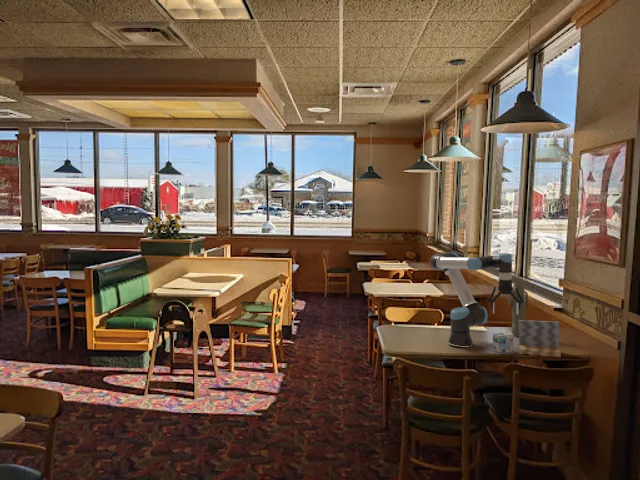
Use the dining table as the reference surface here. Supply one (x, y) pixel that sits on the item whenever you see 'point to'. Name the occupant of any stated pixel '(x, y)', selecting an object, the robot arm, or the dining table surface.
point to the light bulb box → (503, 342)
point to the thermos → (520, 311)
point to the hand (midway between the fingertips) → (505, 313)
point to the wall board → (539, 338)
